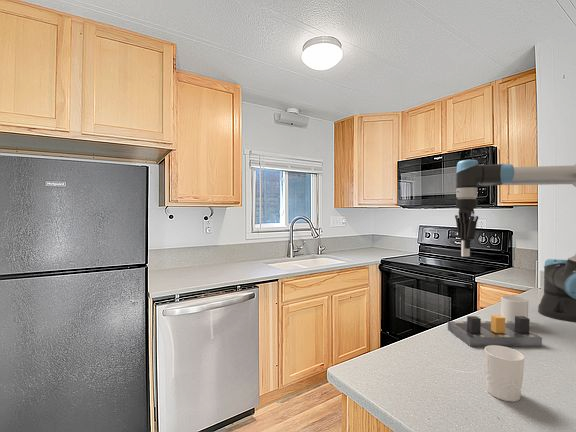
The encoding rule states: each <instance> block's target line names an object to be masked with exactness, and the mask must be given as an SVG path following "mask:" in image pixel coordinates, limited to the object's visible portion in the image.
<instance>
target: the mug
mask: <svg viewBox="0 0 576 432" xmlns="http://www.w3.org/2000/svg"><path fill="white" fill-rule="evenodd" d="M500 316H502V317H504V318H505V321H511V322H513V323H515V316H525V317H527V318H529V300H528V298H525V297H523V296H518V295H506V294H505V295H501V297H500Z"/></svg>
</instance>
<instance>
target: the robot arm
mask: <svg viewBox="0 0 576 432" xmlns="http://www.w3.org/2000/svg"><path fill="white" fill-rule="evenodd" d="M455 174H456V175H455V176H456V177H455V178H456V179H455V180H456V184H455V185H456V187H455V188H456V190H455V193H456V195H455V196H456V200H455V208H456V209H458V214H457V215H456V214H455V215H454V218H455V220H456V221H455V222H456V230H457V231H456V232H457V238H458V239H460V242H461V247H460V249H461V252H460V254H461V255H460V256H461V257H462V258H463V257H467V258H468V257H471V254H470V253H471V241H473V240H475V236H476V229H477V224H478V220H479V216H478V215H475V210H474V209H477V208H478V199H477V198H478V185H480V186H482V187H488V186H529V185H530V186H535V185H540V186H542V185H544V186H545V185H572V186H573V187H575V188H576V163H575V164H573V165H549V166H547V165H546V166H544V165H542V166H541V165H540V166H514V165H513V164H510V163H498V164H479V161H478V160H477V159H463V160H462V159H461V160H459V161H458V162H457V164H456V171H455ZM543 268H544V270H543V271H544V273H543V295H542V298H541V300H540V302H539V304H538V307H537V312H538V313H539V314H540V315H543V316H546V317H549V318H553V319H556V320H562V321H567V322H576V253H575V254H574V255H573V256H571V257H568V258H567V259H555V258H553V259H552V258H551V259H550V258H547V259H545V260H544V265H543Z"/></svg>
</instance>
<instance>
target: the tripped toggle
mask: <svg viewBox="0 0 576 432" xmlns="http://www.w3.org/2000/svg"><path fill="white" fill-rule="evenodd" d="M490 321H491V330H492V331H493V332H495V333H505V318H504V317H502V316H501V314H499V315H497V314H496V315H493V314H491V316H490Z"/></svg>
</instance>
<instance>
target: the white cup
mask: <svg viewBox="0 0 576 432" xmlns="http://www.w3.org/2000/svg"><path fill="white" fill-rule="evenodd" d="M524 367H525V355H524V354H523V353H521V352H520V351H519V350H516V349H514V348H512V347H511V348H510V347H504V346H497V345H490V346H486V347H484V371H485V382H486V383H485V386H486V387H485V388H486V391H487V392H488V393H489V395H491V396H492V397H494V398H497V399H499V400H502V401H505V402H510V403H511V402H518V401H520V400H521V396H522V387H523V380H524V369H525V368H524Z"/></svg>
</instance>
